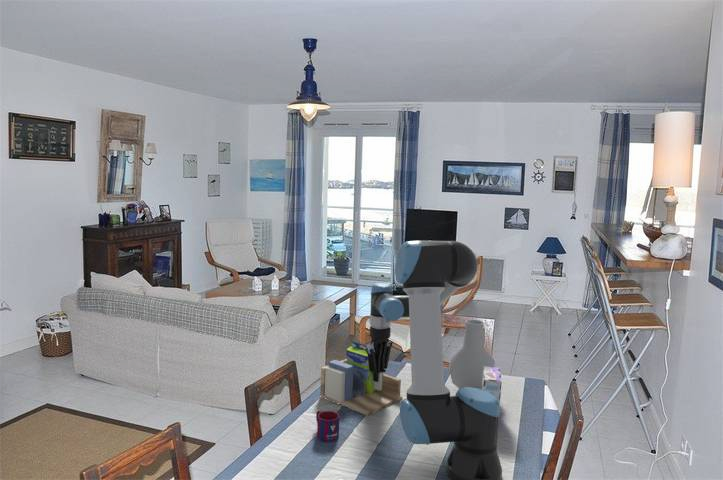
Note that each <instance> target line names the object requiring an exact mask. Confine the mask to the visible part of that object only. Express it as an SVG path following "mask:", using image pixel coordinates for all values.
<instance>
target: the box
mask: <svg viewBox="0 0 723 480" xmlns="http://www.w3.org/2000/svg"><path fill="white" fill-rule="evenodd" d="M351 345H352V346H349V347H347V349H346V350H345V351H346V354H345V355H346V359H347V364H349V365H352V366H353V374H354V375H357V376H360V377H363V378H366V388H365V392H367V393H370V394H371V393H372V392H373V391H375V390H376V389H374V380H373V379H374V373H373V372H371V371H370V369H369V361H368V354H367V352H366V348H369V347H370V346H371V345H368V344H365V343H361V342H357V341H352V340H351Z"/></svg>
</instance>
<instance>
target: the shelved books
mask: <svg viewBox="0 0 723 480" xmlns="http://www.w3.org/2000/svg"><path fill="white" fill-rule="evenodd" d="M340 361H341V360H338V359H334V360H333V359H332V360H331V361H328V365H329V366H328V367H325V396H328V397H330V398H333V399H335V400H338V401H340V402H342V401H344V400H345V401H347V400H350V399H352V393H353V366H352V365H349V364H346V363H343V362H340Z"/></svg>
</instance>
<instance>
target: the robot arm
mask: <svg viewBox="0 0 723 480" xmlns="http://www.w3.org/2000/svg"><path fill="white" fill-rule="evenodd" d="M478 267H479V264H478V259H477V256H476V254H475V253H474V251H473V250H472V249H471V248H470V247H469V246H468V245H466V244H465V243H462V242H460V241H456V240H424V239H423V240H409V241H408V240H407V241H405V242H403V244H401V245H400V247H399V249H398V252H397V255H396V259H395V267H394V275H395V279H396V282H397V283H398V284H401V285H402V291H403V292H404V293H405V294H406V295H393V294H394V292H393V286H392V285H391V284H390V283H387V282H386V283H385V282H375V283H373V284H372V285H371V290H370V291H371V292H370V313H369V314H370V315H369V325H370V327H369V337H370V338H371V342H370V345H369V346H370V347H369V348H366V347H365V348H366V352H367V354H368V361H369V369H370V371H371V372H373V373H374V379H373V380H374V389H376V390H379V391H380V390H382V379H383V374H384V373H386V371H387V368H388V365H389V362H390V361H389V359H390V354H391V349H392V347H393V343H394V342H392V341H389V339H390V338H391V333H392V332H391V326H392V324H391V323H392V322H395V321H398V320H399V319H401V318H402V319H406V318H408V319H409V339H410V343H409V344H410V366H411V367H410V368H411V385H410V387H409V388H408V389H407V390H406V398H402V399H401V400H400V403H399V405H400V406H399V416H400V421H401V425H402V429H403V431H404V434H405V436H406V438H407V439H408V441H409V442H410V443H412V445H426V446H429V445H432V444H446V443H453V445H452V447H451V450H450V451H449V454H448V457H447V459H446V463H445V473H446V475H447V476H448V477H449V479H451V480H502V479H503V477H502V476H503V468H502V465H501V464H502V463H501V460H500V457H499V453H498V442H499V440H498V439H499V427H500V417H501V402H500V403H499V400H498V399H497V398H496V397H495V396H494V395H493V394H491V393H489V392H487V391H484V390H481V389H477V388H471V387H463V388H460V389H459V388H457V391H456V393H455V396H452V395H451V390H450V389H449V388H448V387H447V386H446V384H445V382H444V381H445V380H444V376H445V375H444V359H443V358H444V355H443V354H444V353H443V336H442V335H443V334H442V333H443V332H442V316H441V315H442V313H443V309H444V303H445V302H446V301H447V300H448V299H450V297H451V296H452V295H453V294H454V293H456V292H457V291H458V290H459V289H460V288H464V287H466V286H468V285H469V284H470V283H471V282H472V281H473V280H474V279H475V277H476V276H477V273H478Z"/></svg>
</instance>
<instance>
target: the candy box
mask: <svg viewBox="0 0 723 480" xmlns="http://www.w3.org/2000/svg"><path fill="white" fill-rule="evenodd" d="M502 382H503V381H502V375H501V370H500V367H499V366H498V367H497V366H495V367H490V366H483V375H482V390H484V391H487V392H489V393H491V394H493V395H494V396H495V397H496V398H497V399H498V400H499V403H500V404H501V395H502V394H501V393H502Z"/></svg>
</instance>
